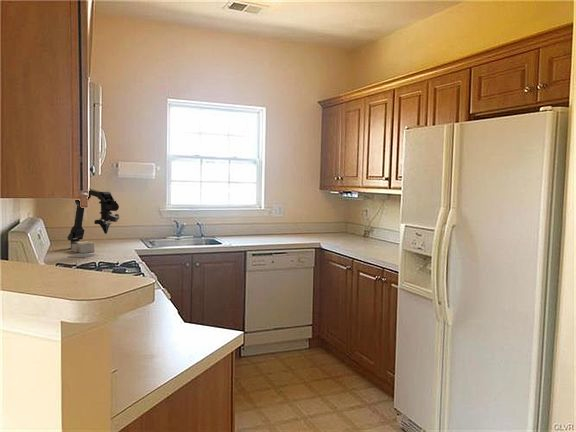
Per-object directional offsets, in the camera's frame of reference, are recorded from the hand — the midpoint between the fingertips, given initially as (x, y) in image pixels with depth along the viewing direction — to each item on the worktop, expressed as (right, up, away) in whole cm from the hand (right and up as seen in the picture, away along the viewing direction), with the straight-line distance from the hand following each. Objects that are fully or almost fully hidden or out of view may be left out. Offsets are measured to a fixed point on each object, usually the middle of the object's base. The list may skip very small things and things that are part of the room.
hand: (105, 233), depth 325 cm
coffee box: (-12, -10, 0) cm, 15 cm away
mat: (-11, -14, -12) cm, 22 cm away
